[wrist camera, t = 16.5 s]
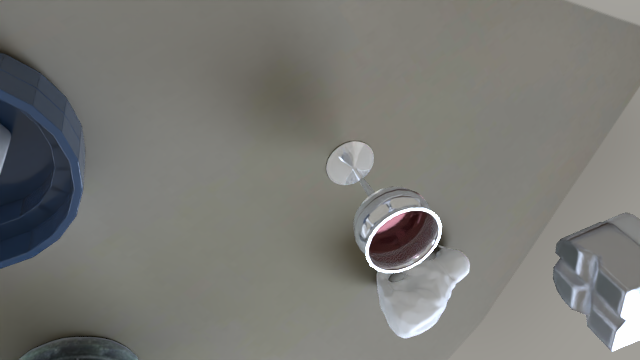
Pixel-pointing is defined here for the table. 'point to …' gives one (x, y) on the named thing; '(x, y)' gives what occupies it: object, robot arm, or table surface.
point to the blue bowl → (37, 163)
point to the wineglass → (385, 214)
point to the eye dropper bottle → (4, 144)
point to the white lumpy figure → (421, 292)
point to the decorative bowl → (80, 350)
